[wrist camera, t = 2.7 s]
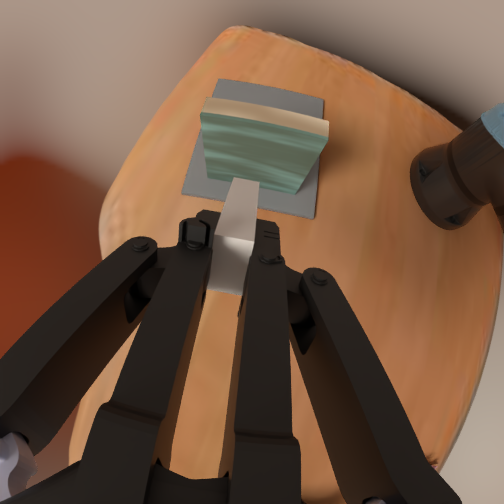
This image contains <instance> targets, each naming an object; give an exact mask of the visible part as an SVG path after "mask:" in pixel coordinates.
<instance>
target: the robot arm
mask: <svg viewBox="0 0 504 504" xmlns="http://www.w3.org/2000/svg"><path fill="white" fill-rule="evenodd" d="M410 180H411V185H412V189H413V192H414V195H415V198H416V200H417V202H418V204H419V206H420V207H421V209H422V210H423V212H424V213H425V214H426V216H427V217H428V218H429V219H430V220H431V221H432V222H433V223H435V224H436V225H437V226H439V227H441V228H443V229H446V230H454V229H457V228H459V227H462V226H464V225H465V224H467V223H468V222H469V221H470V220H471V219H472V218H473V217H474V215H475V214H476V213H477V212H478V211H479V210H480V209H481V208H482V207H483V206H484V205H486V204H488V203H491V204H492V206H493V208H494V210H495V213H496V215H497V218H498V220H499V222H500V225H501V228H502V230H503V233H504V103H500V104H497V105H496V106H494V107H493V108H492V109H490V110H489V111H487V112H484V113H483V114H482V116H481V117H480V118H479V119H478V120H477V121H475V122H474V123H473V124H472V125H471V126H469V127H468V128H467V129H466V130H464V131H463V132H462V133H461V134H459V135H458V136H457V137H455V138H454V139H453V140H452V141H451V142H449V143H446V144H442V145H438V146H434V147H430V148H427V149H425V150H423V151H422V152H421V153H419V154H418V155H417V156H416V157H415V158H414V160H413V161H412V164H411V168H410ZM259 183H260V182H257V181H251V180H246V179H241V178H235V177H234V178H233V181H232V184H231V186H230V189H229V192H228V195H227V198H226V201H225V204H224V207H223V209H222V212H221V213H220V212H215V211H209V210H202V211H201V212H199V213H197V215H196V217H195V218H187V219H184V220H182V221H181V222H180V223H179V239H178V243H177V245H176V246H174V247H166V248H157V243H156V241H155V240H153V239H151V238H149V237H144V236H142V237H141V236H139V237H134V238H131V239H129V240H127V241H126V242H125V243H124V244H122V245H121V246H120V247H119V248H117V249H116V250H115V251H114V252H113V253H111V254H110V255H109V256H108V257H106V258H105V259H104V260H103V261H102V262H101V263H99V264H98V265H97V266H96V267H95V268H93V269H92V270H91V271H90V272H89V273H88V274H87V275H85V276H84V277H83V278H82V279H81V280H80V281H79V282H77V283H76V284H75V285H74V286H73V287H72V288H71V289H70V290H69V291H68V292H67V293H65V294H64V295H63V296H62V297H61V298H60V299H59V300H58V301H57V302H56V303H55V304H53V305H52V306H51V307H50V308H49V309H48V310H47V311H46V312H45V313H44V314H43V315H42V316H41V317H40V318H39V319H38V320H37V321H36V322H35V323H34V324H33V325H32V326H31V327H30V328H29V329H28V330H27V331H26V332H25V333H24V334H23V335H22V336H21V337H20V338H19V339H18V340H17V342H16V343H15V344H14V345H13V346H12V347H11V348H10V349H9V350H8V351H7V352H6V353H5V355H4V356H3V357H2V358H1V359H0V504H306V503H305V502H304V501H303V500H302V499H301V452H300V445H299V442H298V440H297V439H296V438H295V437H294V436H293V433H292V399H291V366H290V342H291V345H292V348H293V351H294V354H295V357H296V360H297V362H298V365H299V368H300V371H301V374H302V377H303V380H304V383H305V386H306V389H307V392H308V395H309V398H310V401H311V404H312V407H313V410H314V413H315V416H316V419H317V422H318V425H319V428H320V431H321V434H322V437H323V440H324V443H325V446H326V449H327V452H328V456H329V459H330V462H331V465H332V468H333V471H334V474H335V477H336V480H337V483H338V486H339V488H340V491H341V493H342V496H343V498H344V499H345V501H346V503H347V504H462V501H461V500H460V498H459V496H458V495H457V494H456V493H455V492H454V490H453V489H452V488H451V487H450V486H449V485H448V484H447V483H446V482H445V480H444V479H443V478H442V477H441V476H440V475H439V474H438V473H437V471H436V470H435V469H434V468H433V467H432V466H431V465H430V464H429V462H428V461H427V460H426V457H425V455H424V453H423V450H422V448H421V446H420V443H419V441H418V439H417V437H416V434H415V432H414V430H413V428H412V426H411V423H410V421H409V419H408V417H407V415H406V413H405V410H404V408H403V406H402V404H401V402H400V400H399V398H398V396H397V394H396V392H395V390H394V388H393V386H392V384H391V382H390V380H389V378H388V376H387V374H386V372H385V370H384V368H383V366H382V364H381V362H380V360H379V358H378V356H377V354H376V352H375V350H374V349H373V347H372V345H371V343H370V341H369V339H368V337H367V335H366V334H365V332H364V330H363V328H362V326H361V324H360V323H359V321H358V319H357V317H356V315H355V314H354V312H353V310H352V308H351V307H350V305H349V303H348V301H347V300H346V298H345V296H344V294H343V293H342V291H341V289H340V287H339V286H338V284H337V282H336V281H335V279H334V278H333V276H332V275H331V274H330V273H328V272H327V271H325V270H322V269H320V268H308V269H306V270H304V272H303V274H302V273H299V272H297V271H294V270H292V269H290V268H289V267H287V266H286V265H285V260H284V257H283V256H282V255H281V251H280V235H279V227H278V226H277V225H276V223H275V222H271V221H266V220H261V219H256V217H257V205H258V194H259ZM207 289H209V290H214V291H219V292H225V293H230V294H236V295H241V296H242V298H241V303H240V307H239V311H238V316H237V317H238V325H237V333H236V341H235V350H234V358H233V366H232V374H231V382H230V390H229V399H228V407H227V415H226V424H225V432H224V440H223V449H222V456H221V461H220V466H219V473H218V478H212V479H188V478H186V477H183V476H181V475H179V474H177V473H174V472H172V471H170V470H169V467H170V461H171V450H172V443H173V438H174V433H175V428H176V423H177V418H178V413H179V409H180V404H181V399H182V395H183V390H184V386H185V381H186V377H187V373H188V368H189V364H190V360H191V355H192V351H193V347H194V343H195V338H196V334H197V330H198V326H199V322H200V318H201V314H202V310H203V306H204V302H205V298H206V290H207ZM140 322H141V323H140ZM139 323H140V326H139V328H138V331H137V333H136V335H135V338H134V340H133V343H132V345H131V347H130V350H129V352H128V355H127V357H126V360H125V363H124V365H123V368H122V370H121V373H120V376H119V378H118V381H117V384H116V386H115V389H114V392H113V395H112V397H111V399H110V400H109V402H106V403H103V404H102V405H101V406H100V408H99V409H98V411H97V413H96V416H95V418H94V421H93V424H92V427H91V430H90V433H89V436H88V439H87V442H86V446H85V449H84V452H83V455H82V459H81V460H80V461H77V462H75V463H73V464H72V465H70V466H68V467H67V468H65V469H63V470H61V471H60V472H58V473H56V474H54V475H52V476H51V477H49V478H47V479H46V480H43V481H41V482H39V483H38V484H36V485H34V486H32V487H30V488H28V489H26V484H27V481H28V480H29V479H30V477H31V476H33V475H35V474H36V473H37V464H36V462H35V460H34V456H35V455H36V454H38V453H39V452H40V451H41V450H42V449H43V448H44V447H46V446H47V445H48V444H49V443H50V441H51V440H52V439H53V437H54V436H55V435H56V434H57V432H58V431H59V429H60V428H61V427H62V425H63V424H64V422H65V421H66V419H67V418H68V417H69V415H70V414H71V413H72V411H73V410H74V408H75V407H76V406H77V404H78V403H79V401H80V400H81V399H82V397H83V396H84V395H85V393H86V392H87V391H88V389H89V388H90V387H91V385H92V384H93V383H94V381H95V380H96V379H97V377H98V376H99V375H100V373H101V372H102V371H103V369H104V368H105V367H106V365H107V364H108V363H109V361H110V360H111V359H112V358H113V356H114V355H115V354H116V352H117V351H118V350H119V349H120V347H121V346H122V345H123V343H124V342H125V341H126V340H127V338H128V337H129V336H130V335H131V333H132V332H133V331H134V330H135V328H136V327H137V326H138V325H139ZM289 339H290V341H289Z"/></svg>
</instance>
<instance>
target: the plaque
mask: <svg viewBox="0 0 504 504" xmlns="http://www.w3.org/2000/svg"><path fill="white" fill-rule="evenodd" d="M200 120H201V129H202V137H203V146H204V154H205V162H206V170H207V177H208V178H210V179H216V180H221V181H227V182H232V181H233V178H234V177H235V178H241V179H246V180H251V181H257V182H260V183H259V188H264V189H269V190H274V191H278V192H283V193H288V194H292V195H295V194H296V192H297V191H298V189H299V187H300V186H301V184H302V182H303V181H304V179H305V178H306V176H307V174H308V173H309V171H310V169H311V168H312V166H313V165H314V163H315V161H316V160H317V158H318V156H319V155H320V153H321V151H322V150H323V148H324V147H325V145H326V143H327V142H328V135H329V121H326V120H322V119H319V118H315V117H311V116H307V115H303V114H299V113H295V112H291V111H286V110H282V109H277V108H272V107H267V106H262V105H257V104H252V103H246V102H240V101H233V100H227V99H220V98H212V97H206V100H205V103H204V105H203V108H202V111H201V114H200Z"/></svg>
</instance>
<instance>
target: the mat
mask: <svg viewBox="0 0 504 504" xmlns="http://www.w3.org/2000/svg"><path fill="white" fill-rule="evenodd" d="M212 98H220V99H227V100H233V101H240V102H246V103H252V104H257V105H262V106H267V107H272V108H277V109H282V110H286V111H291V112H295V113H299V114H303V115H307V116H311V117H315V118H319V119H322V116H323V99H320V98H316V97H312V96H308V95H305V94H301V93H296V92H292V91H288V90H283V89H279V88H274V87H269V86H264V85H258V84H252V83H247V82H240V81H233V80H226V79H218V82H217V84H216V87H215V89H214V92H213V95H212ZM319 159H320V155H319V156H318V158H317V160H316V161H315V163H314V165H313V166H312V168H311V169H310V171H309V173H308V174H307V176H306V178H305V179H304V181H303V182H302V184H301V186H300V187H299V189H298V191H297V192H296V194H295V195H292V194H288V193H283V192H278V191H274V190H269V189H264V188H259V194H258V205H257V208H260V209H265V210H270V211H275V212H279V213H284V214H289V215H294V216H298V217H303V218H308V219H313V218H314V211H315V202H316V192H317V182H318V171H319ZM231 184H232V182H227V181H221V180H216V179H210V178H208V177H207V170H206V162H205V154H204V146H203V137H202V129H200V132H199V135H198V139H197V142H196V145H195V148H194V151H193V154H192V158H191V161H190V164H189V168H188V171H187V174H186V178H185V181H184V185H183V188H182V192H181V193H182V195H188V196H194V197H200V198H206V199H212V200H217V201H223V202H225V201H226V198H227V195H228V192H229V189H230V186H231Z"/></svg>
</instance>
